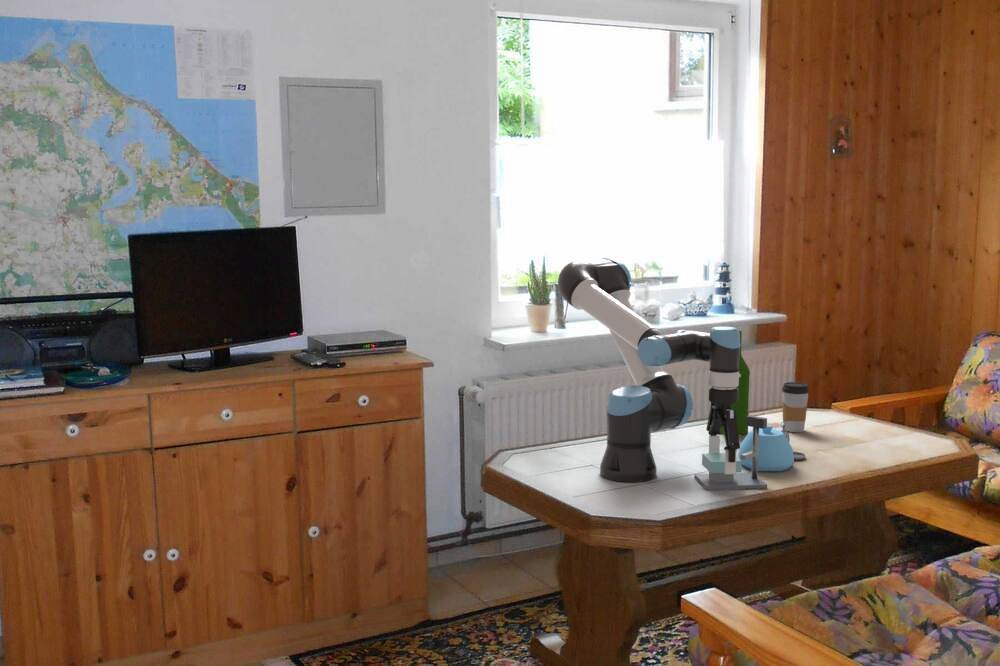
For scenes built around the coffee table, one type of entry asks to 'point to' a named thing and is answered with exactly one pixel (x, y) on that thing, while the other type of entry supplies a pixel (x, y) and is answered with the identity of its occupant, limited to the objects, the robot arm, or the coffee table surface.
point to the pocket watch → (796, 454)
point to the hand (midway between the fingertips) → (721, 466)
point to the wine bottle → (742, 396)
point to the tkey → (754, 442)
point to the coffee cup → (794, 405)
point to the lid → (717, 462)
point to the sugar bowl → (768, 450)
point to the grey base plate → (729, 481)
